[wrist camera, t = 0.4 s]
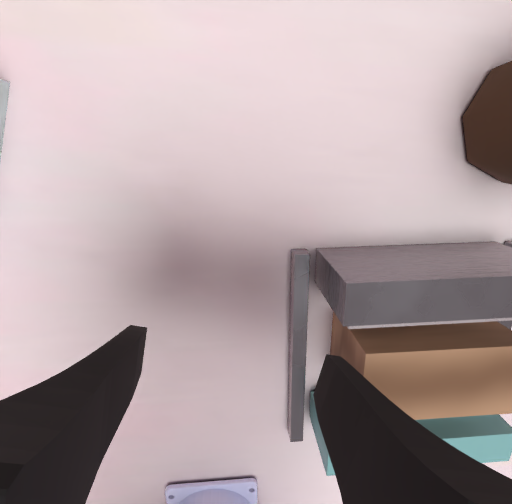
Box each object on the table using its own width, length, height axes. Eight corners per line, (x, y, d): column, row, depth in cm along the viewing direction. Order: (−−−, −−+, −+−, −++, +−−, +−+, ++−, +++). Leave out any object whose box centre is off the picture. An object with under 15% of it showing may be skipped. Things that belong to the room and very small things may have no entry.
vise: (473, 415, 27) (537, 485, 22) (288, 429, 26) (303, 506, 20) (518, 240, 22) (616, 271, 17) (291, 249, 21) (312, 284, 16)
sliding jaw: (459, 405, 26) (509, 460, 22) (309, 415, 26) (326, 475, 21) (466, 376, 26) (519, 427, 21) (310, 386, 25) (329, 442, 20)
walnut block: (449, 354, 25) (513, 413, 19) (329, 360, 25) (357, 423, 19) (461, 298, 24) (534, 345, 18) (333, 304, 23) (366, 354, 17)
